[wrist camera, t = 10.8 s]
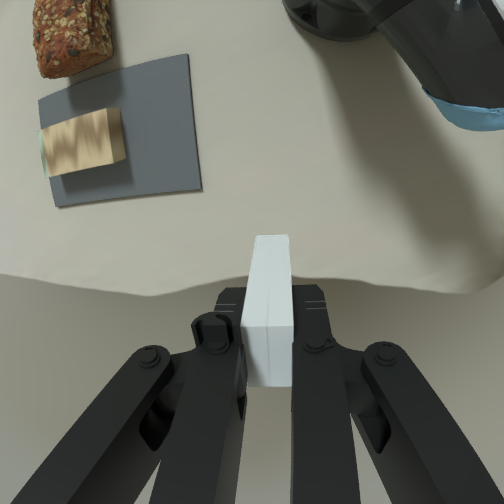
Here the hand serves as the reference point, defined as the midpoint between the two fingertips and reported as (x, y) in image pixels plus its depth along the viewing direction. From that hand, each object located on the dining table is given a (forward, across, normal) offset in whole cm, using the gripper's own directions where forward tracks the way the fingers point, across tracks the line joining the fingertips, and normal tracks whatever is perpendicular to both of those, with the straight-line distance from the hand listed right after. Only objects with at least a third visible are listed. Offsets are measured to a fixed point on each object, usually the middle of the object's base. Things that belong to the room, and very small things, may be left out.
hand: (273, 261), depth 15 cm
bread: (+30, -28, +28) cm, 50 cm away
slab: (+27, -22, +7) cm, 35 cm away
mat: (+29, -25, +7) cm, 39 cm away
